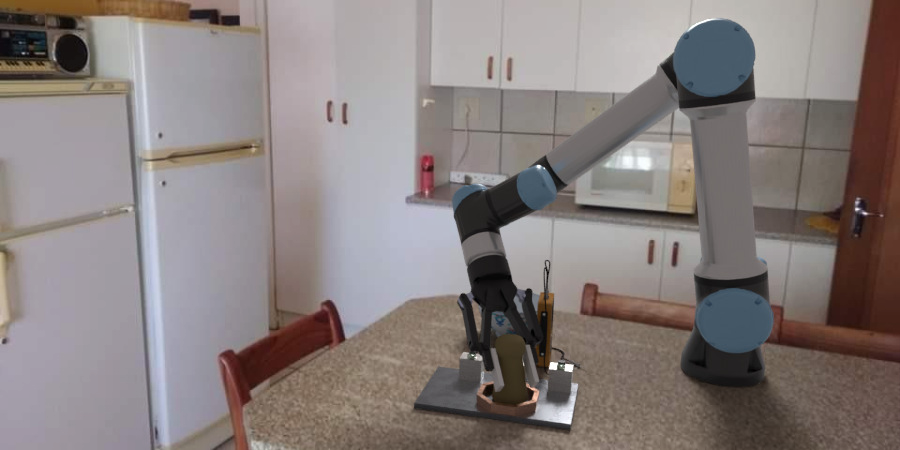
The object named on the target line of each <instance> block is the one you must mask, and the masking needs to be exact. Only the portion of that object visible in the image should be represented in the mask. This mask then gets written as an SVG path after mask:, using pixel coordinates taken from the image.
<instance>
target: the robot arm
mask: <svg viewBox="0 0 900 450" xmlns="http://www.w3.org/2000/svg"><path fill="white" fill-rule="evenodd" d="M755 61H756V48H755V43H754V41H753V38H752V37H751V34H750V33H749V32H748V31H747V30H746V29H745V28H744V27H743V25H741V24H739V22H736V21H733V20H732V19H729V18H723V17H716V18H708V19H703V20H700V21H697V22H696V23H694V24H692V25H691V26H690V27H688V28H687V29H686V30H685V31H684V32H683V33H682V34H681V36H680V37H679V39H678V40H677V42H676V45H675V47H674V50H673V52H672V53H671V54H670V55H669V56H668V57H666V58H665V59H664V60H662V61H661V62H660V63H658V64H657V67H656V72H655V73H654V74H653V75H651V76H650V77H648V78H647V79H646V80H645V81H643V82H642V83H640V84H639V85H638V86H637V87H635V88H634V89H632V90H631V91H629V93H627V94H625V95H624V96H623V97H622V98H620V99H619V100H618V101H616V102H615V103H614V104H612V105H611V106H610V107H608V108H607V109H605V110H604V111H603V112H601V113H600V114H599V115H598V116H596V117H595V118H593V119H592V120H590V121H589V122H588V123H586V124H585V125H584V126H583V127H581V128H580V129H578V130H577V131H576V132H574V133H572V134H571V135H570V136H569V137H567V138H566V139H564V140H563V141H562V142H560V143H559V144H558V145H556V146H555V147H554V148H553V149H551V150H550V151H548V152H547V153H546V154H544V155H543V156H542V157H540V158H539V159H538V160H536V161H535V162H534V163H532V164H531V165H530V166H528V167H526V168H525V169H523V170H521V171H520V172H518V173H516V174H514V175H513V176H511V177H509V178H507V179H505V180H503V181H501V182H499V183H498V184H496V185H493V186H492V187H489V188H488V187H487V186H486V185H485V184H482V183H472V184H470V185H467V184H466V185H463V186H461V187H459V188H458V189H457V190H456V191H455V192H454V193H453V195H452V198H451V205H452V209H453V210H452V211H453V219H454V222H455V224H456V225H455V226H456V229H457V233H458V237H459V241H460V245H461V250H462V255H463V258H464V262H465V266H466V273H467V277H468V281H469V284H470V285H469V286H470V291H469V292H467V293H464V292H462V293H460V295H459V297H458V299H457V302H456V304H457V305H458V307H459V309H460V310H461V313H462V319H463V325H464V329H465V330H464V331H465V335H466V341H467V346H468V347H467V348H468V350H469V351H471V352H474V351H477V353H478V354H479V355H480V356H482V359H483V363H484V371H486V372H490V373H491V375H492V379H493V383H494V388H495V392H500V391H501V389H502V388H503V387H504V382H503V378H502V373H501V369H500V365H499V361H498V355H497V353H496V348H494V347H491V341H492V329H491V322H492V313H493V312H496V311H498V312H503V314H504V315H505V317H507V318H508V320H509V322H510V323H511V325H512V327H513V329H514V331H515V332H516V334H517V335H519V336H521V337H522V338H523V339H524V341H525V345H526V349H525V352H524V354H523V356H522V358H523V362H524V366H525V370H526V374H527V378H528V382H529V386H530V388H533V387H535V386H536V385H537V384H538V383H539V379H540V378H539V375H538V371H537V366H536V365H537V364H538V362H539V360H538V356H537V352H536V345H538V344H539V343H540V342H541V341H542V339H543V338H544V337H543V333H542V330H541V327H540V324H539V321H538V317H537V314H536V311H535V308H534V305H533V301H532V293H534V292H533V289H532V288H531V287H528V288H526V289H522V288H518V287H517V285H516V284H515V283H514V281H513V277H512V272H511V268H510V264H509V260H508V259H507V253H506V250H505V245H504V242H503V238H502V235H501V234H502V233H501V230H500V229H501V228H504V227H505V226H508V225H510V224H512V223H514V222H516V221H518V220H520V219H522V218H525V217H527V216H529V215H530V214H534V213H535V212H537V211H542V210H543V209H544V208H546V207H547V206H549V205H551V204H552V203H554V202H555V201H556V199H557V198H558V194H559V193H560V192H561V191H563V190H564V189H566V188H567V187H568V186H570V185H571V184H572V183H574V182H576V181H577V180H578V179H580V178H581V177H583V176H584V175H585V174H587V173H588V172H590V171H591V170H592V169H594V168H595V167H596V166H598V165H600V164H601V163H602V162H604V161H606V160H607V159H608V158H610V157H611V156H613V155H614V154H615V153H617V152H618V151H620V150H621V149H622V148H624V147H625V146H627V145H628V144H629V143H631V142H632V141H634V140H635V139H637V138H638V137H639V136H641V135H642V134H644V133H645V132H647V131H648V130H649V129H651V128H652V127H654V126H655V125H656V124H659V122H661V121H662V120H664V119H665V118H667V117H668V116H669V115H672V114H673V113H674V112H675V111H677V110H678V109H679V110H678V111H680V112H681V113H682V114H683V115H684V116H685V117H687V118H688V120H689V122H690V134H691V136H690V137H691V138H690V139H691V146H692V159H693V160H692V161H693V171H694V181H695V194H696V205H697V206H696V207H697V217H698V218H697V219H698V230H699V240H700V253H701V256H700V261H699V263H698V264H697V265H696V266H695V267H694V268H693V281H694V292H695V293H694V294H695V309H694V311H695V312H694V318H693V319H694V321H693V328H692V330H691V332H690V334H689V336H688V339H687V341H686V343H685V344H684V346H683V350H682V351H681V354H680V355H681V356H680V364H679V365H680V368H681V369H682V370H683V372H684V373H685V374H686V375H688V376H690V377H692V378H694V379H697V380H698V381H702V382H705V383H708V384H711V385H717V386H722V387H732V388H742V387H743V388H745V387H746V388H747V387H753V386H756V385H758V384H761V383H762V382H763V381H764V379H765V374H766V363H765V359H764V354H763V349H762V345H763V344H764V343H765V342H766V341H767V340H768V338H770V335H771V333H772V331H773V327H774V323H775V316H774V311H773V309H772V306H771V299H770V285H769V272H768V271H769V270H768V263H767V261H766V260H765V259H764V258H762V257H759V256H758V255H757V244H756V243H757V242H756V231H755V230H756V228H755V217H754V215H755V213H754V200H753V186H752V175H751V173H752V172H751V160H750V148H749V147H750V146H749V133H748V131H749V130H748V119H747V112H748V111H749V109H751V107H752V105H754V103H755V102H756V87H755V71H754V70H755V69H754V66H755ZM515 296H517V297H518V299H519V302H520V303H522V310H523V313H524V316H525V320H526V323H527V326H528V328H527V326H526V324H525V323H524V321H523V319H522V317H521V316H520V314H519V312H518V310H517V306H516V304H515V302H514V298H515ZM473 302H475V303H476V304H477V306H478V305H479V306H480V307H481V314H480V318H481V321H480V322H481V323H480V339H479V333H478V330H477V329H478V327H477V324H476V318H475V315H474V314H475V313H474V307H473V304H474V303H473ZM528 329H529V330H528Z"/></svg>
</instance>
